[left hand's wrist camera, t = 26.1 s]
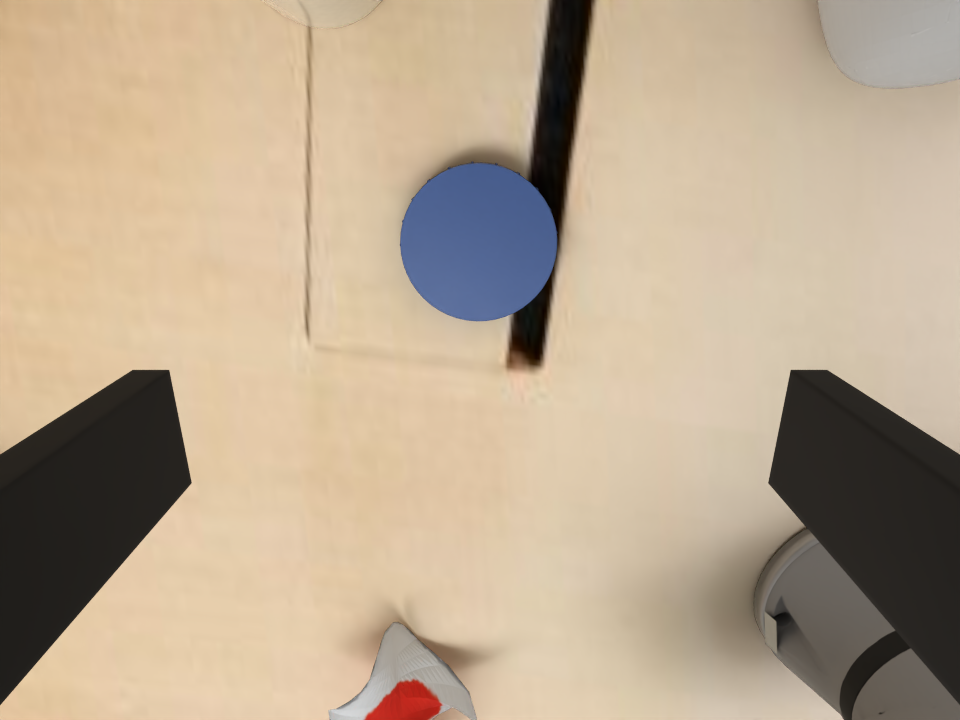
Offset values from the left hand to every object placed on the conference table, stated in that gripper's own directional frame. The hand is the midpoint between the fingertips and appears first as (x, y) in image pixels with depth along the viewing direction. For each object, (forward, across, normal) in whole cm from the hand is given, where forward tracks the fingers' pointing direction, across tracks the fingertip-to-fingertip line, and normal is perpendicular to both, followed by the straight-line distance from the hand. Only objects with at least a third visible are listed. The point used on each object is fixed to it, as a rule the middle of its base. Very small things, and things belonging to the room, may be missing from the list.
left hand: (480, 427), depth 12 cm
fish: (+25, +6, +37) cm, 45 cm away
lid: (+24, 0, 0) cm, 24 cm away
